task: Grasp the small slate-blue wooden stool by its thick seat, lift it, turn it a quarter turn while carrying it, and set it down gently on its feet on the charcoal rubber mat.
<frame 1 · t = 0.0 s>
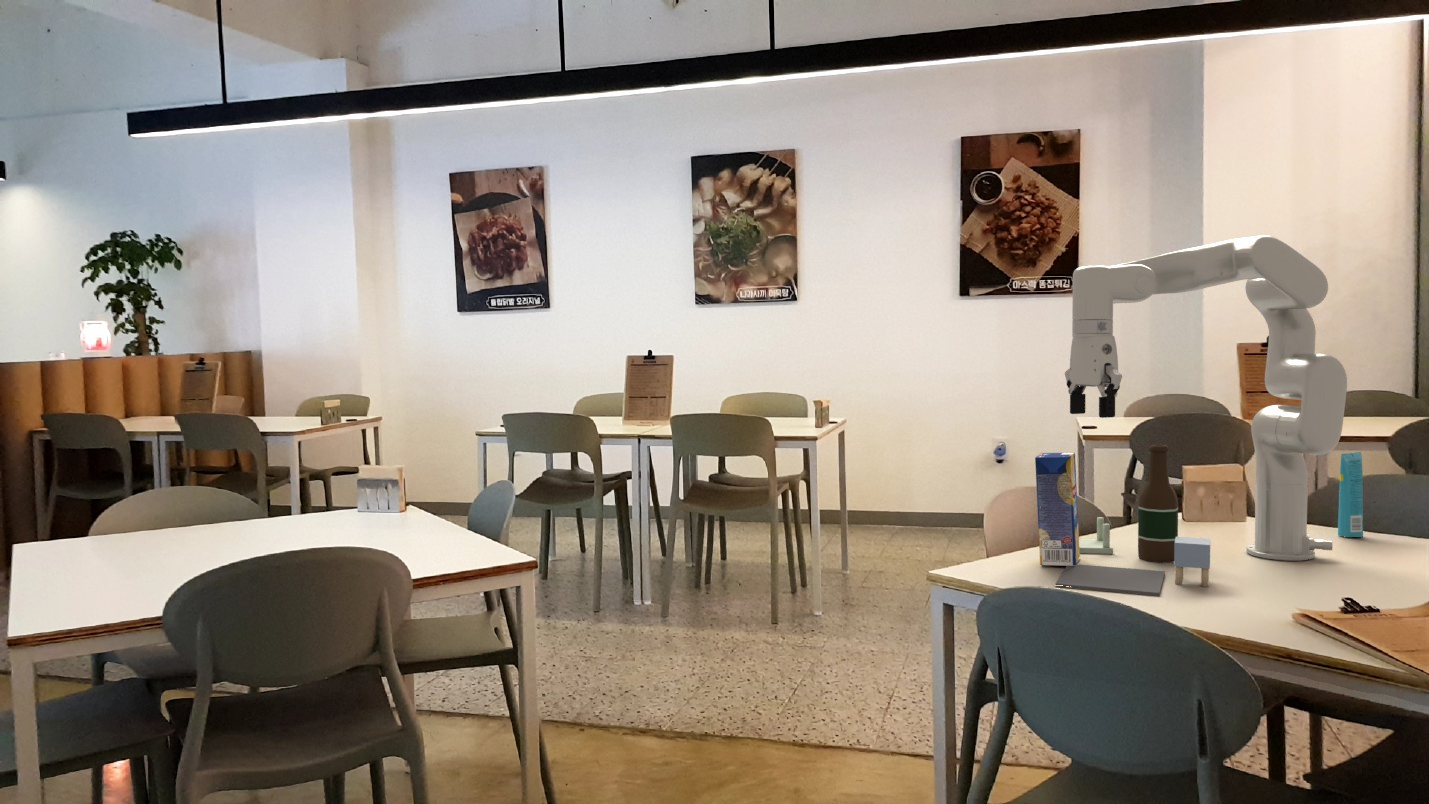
hand: (1092, 415, 201), 31 cm above the table, tool pointing down, fingers open, 9 cm apart
slate-blue stool: (1192, 582, 192), on the table
teal carton: (1349, 537, 231), on the table
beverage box: (1060, 561, 210), on the table, touching charcoal mat
beer bottle: (1157, 559, 212), on the table
mint twin-peg base: (1084, 548, 223), on the table
charcoal mat: (1111, 580, 195), on the table
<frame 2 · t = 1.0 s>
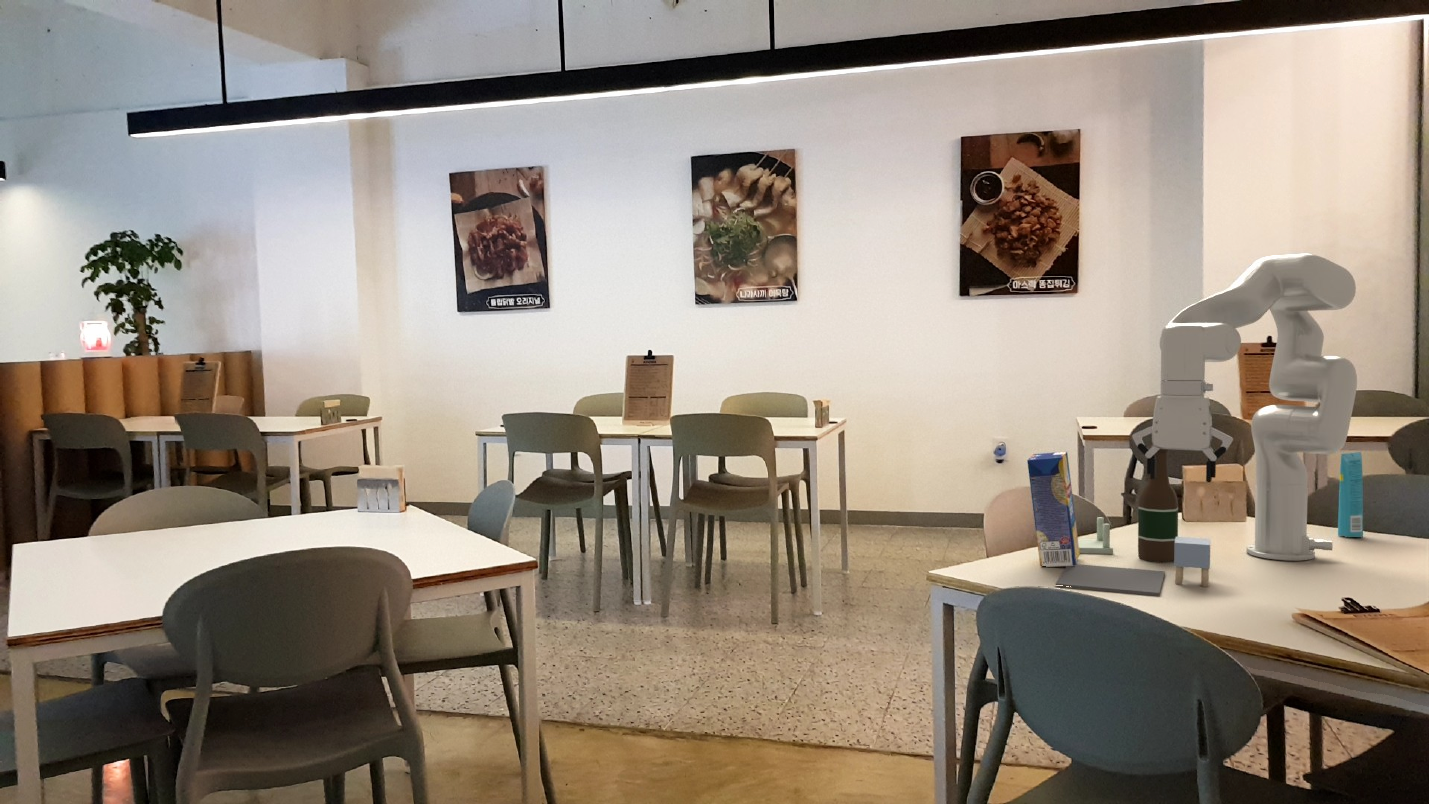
hand: (1180, 479, 192), 19 cm above the table, tool pointing down, fingers open, 9 cm apart
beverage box: (1060, 561, 210), on the table, touching charcoal mat
everything else where it was.
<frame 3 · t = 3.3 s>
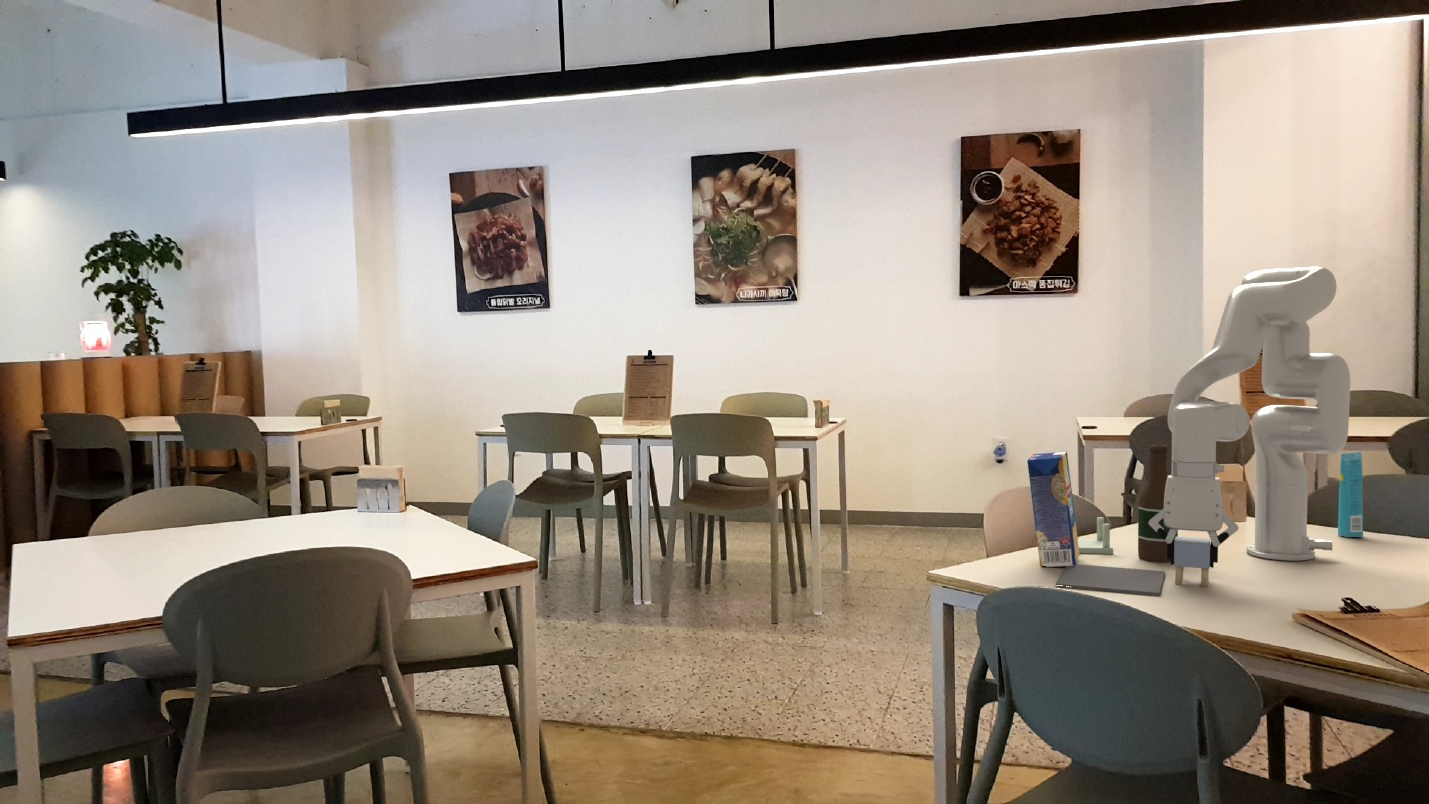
hand: (1192, 563, 192), 4 cm above the table, tool pointing down, fingers closed on slate-blue stool, 6 cm apart
slate-blue stool: (1191, 582, 192), on the table, touching gripper
everything else where it was.
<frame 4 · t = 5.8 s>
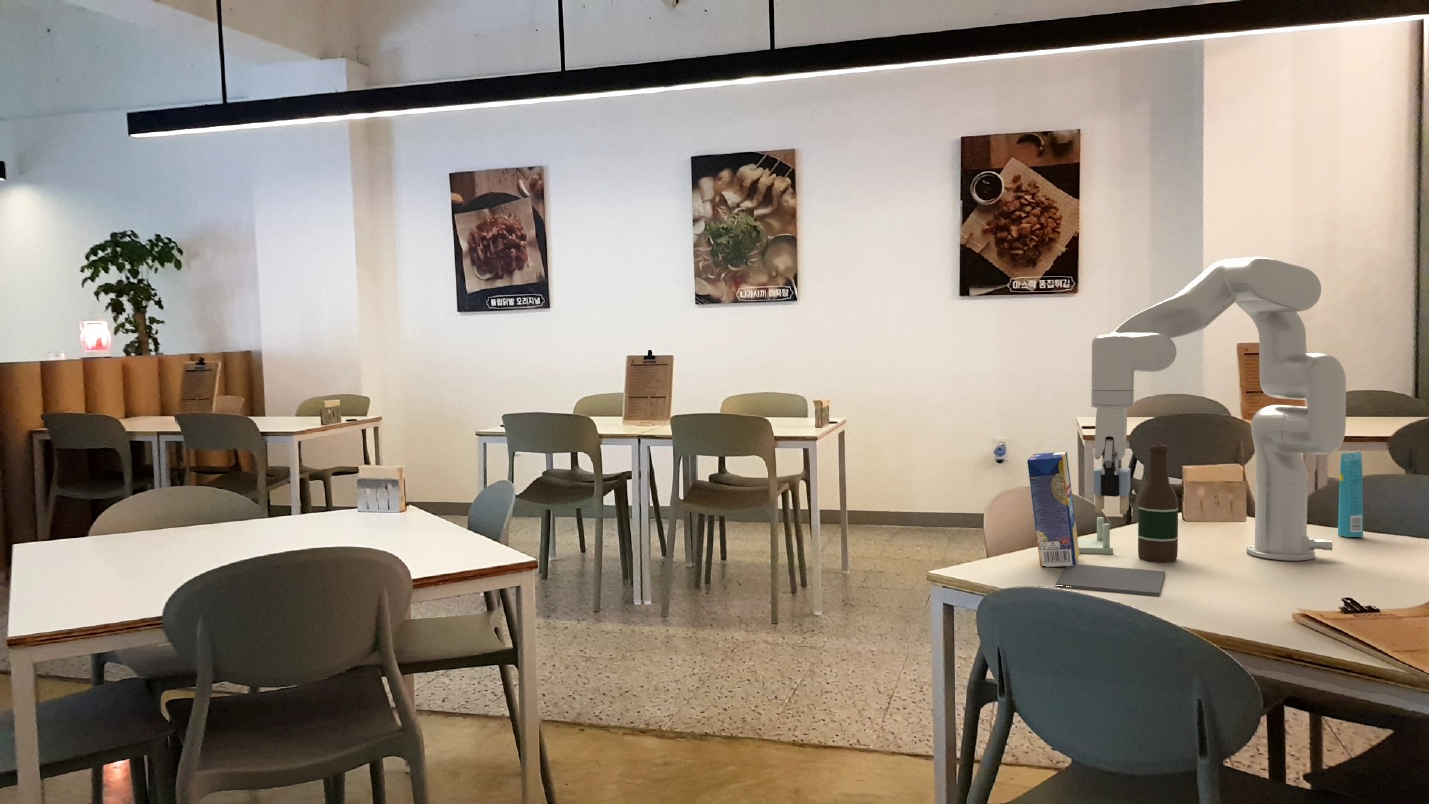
hand: (1111, 492, 194), 17 cm above the table, tool pointing down, fingers closed on slate-blue stool, 6 cm apart
slate-blue stool: (1111, 511, 194), point 13 cm above the table, touching gripper
everything else where it was.
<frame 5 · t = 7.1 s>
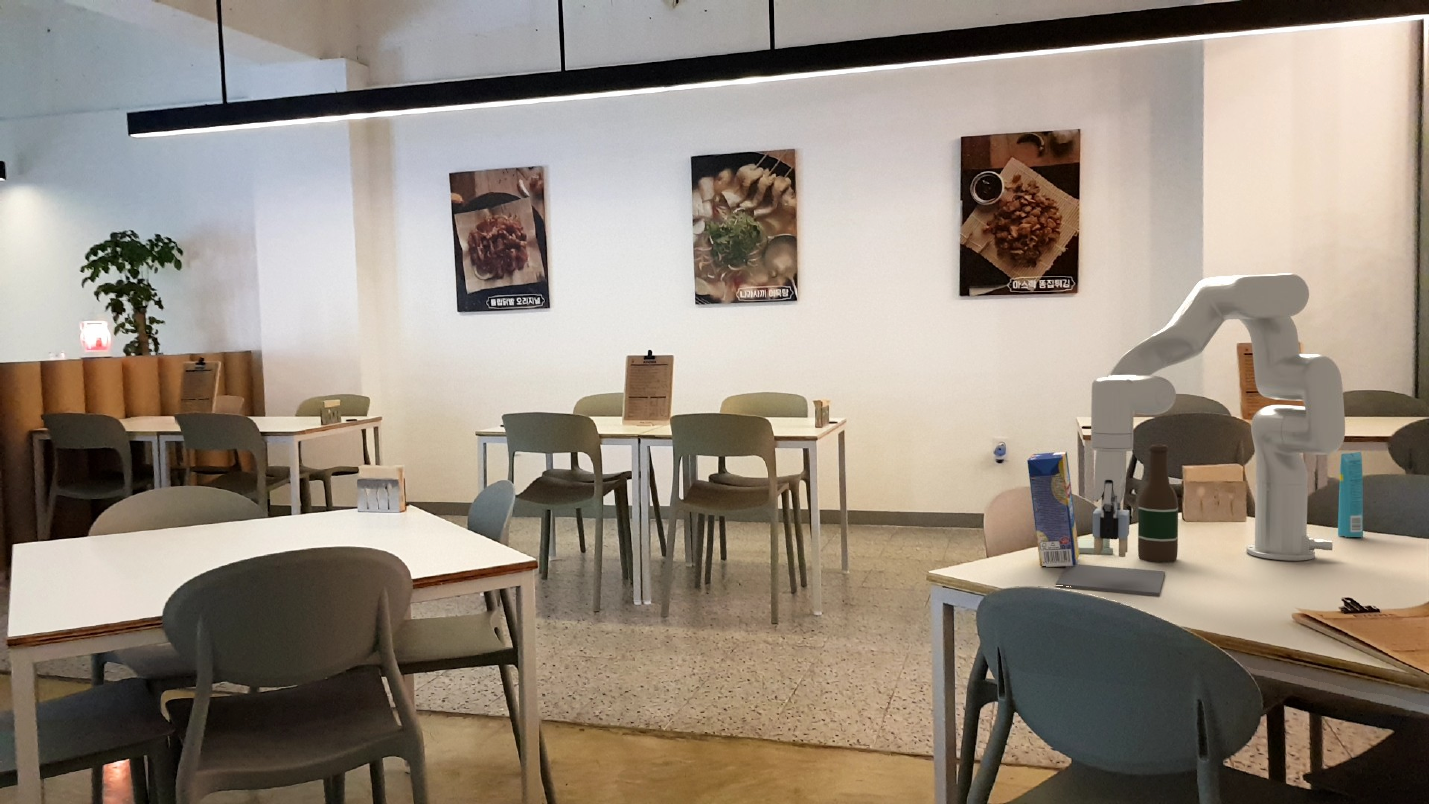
hand: (1110, 534, 194), 9 cm above the table, tool pointing down, fingers closed on slate-blue stool, 6 cm apart
slate-blue stool: (1110, 553, 194), point 5 cm above the table, touching gripper
everything else where it was.
when the fingers open (5 cm above the table, at t = 8.3 s): slate-blue stool drops 1 cm, resting on charcoal mat.
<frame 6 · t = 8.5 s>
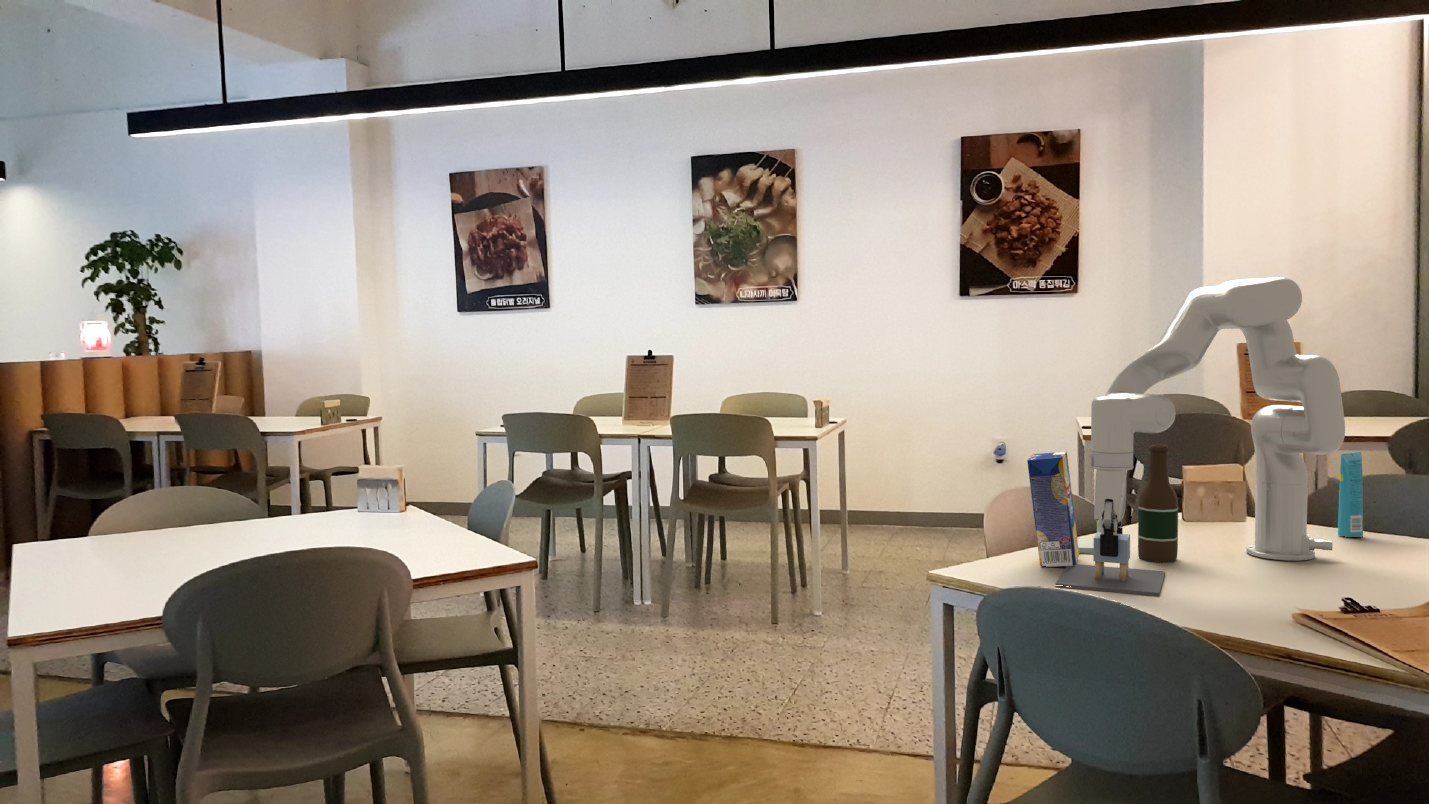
hand: (1111, 551, 195), 6 cm above the table, tool pointing down, fingers open, 7 cm apart
slate-blue stool: (1111, 577, 195), point 1 cm above the table, touching charcoal mat
everything else where it was.
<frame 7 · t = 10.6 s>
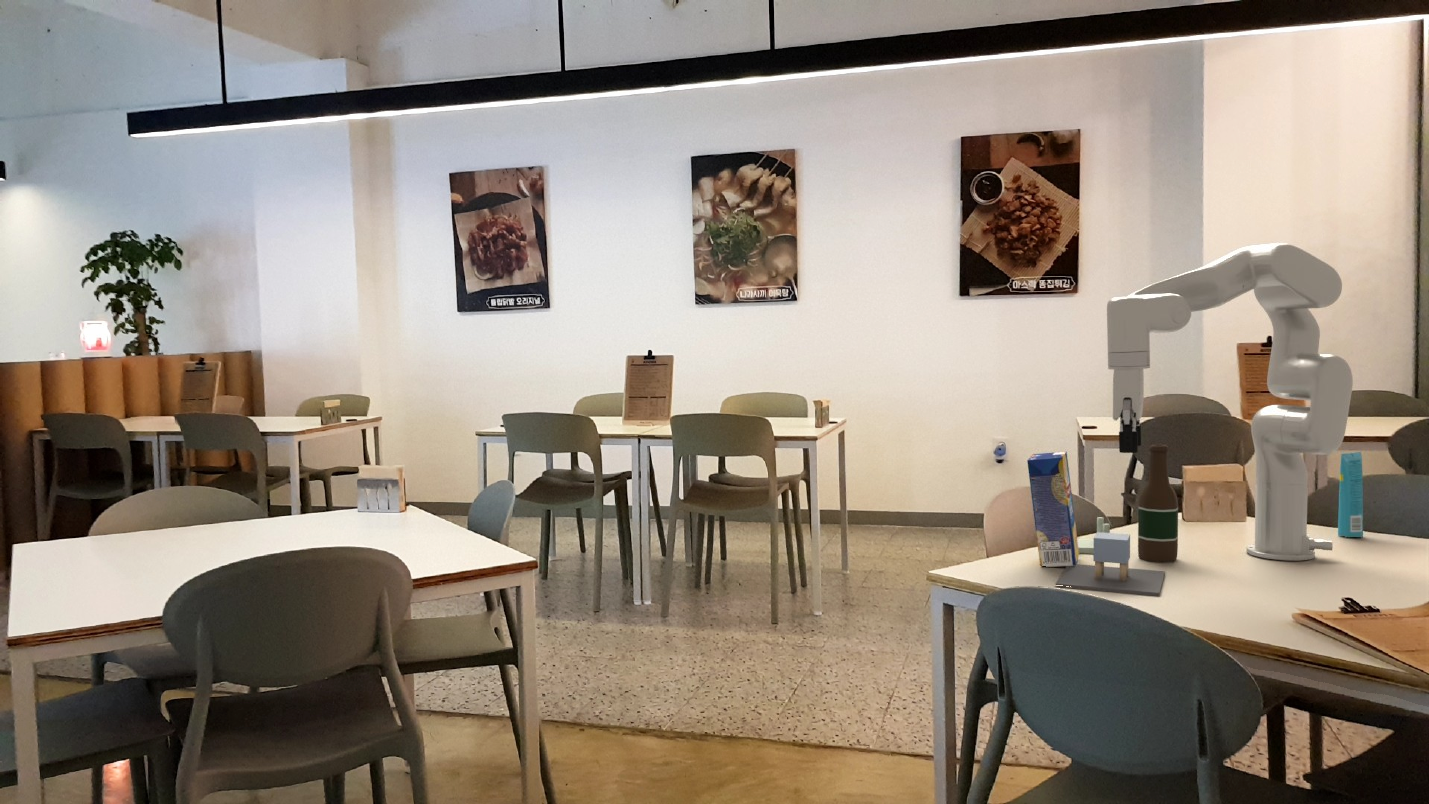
hand: (1130, 449, 196), 25 cm above the table, tool pointing down, fingers open, 9 cm apart
nothing on the table moved.
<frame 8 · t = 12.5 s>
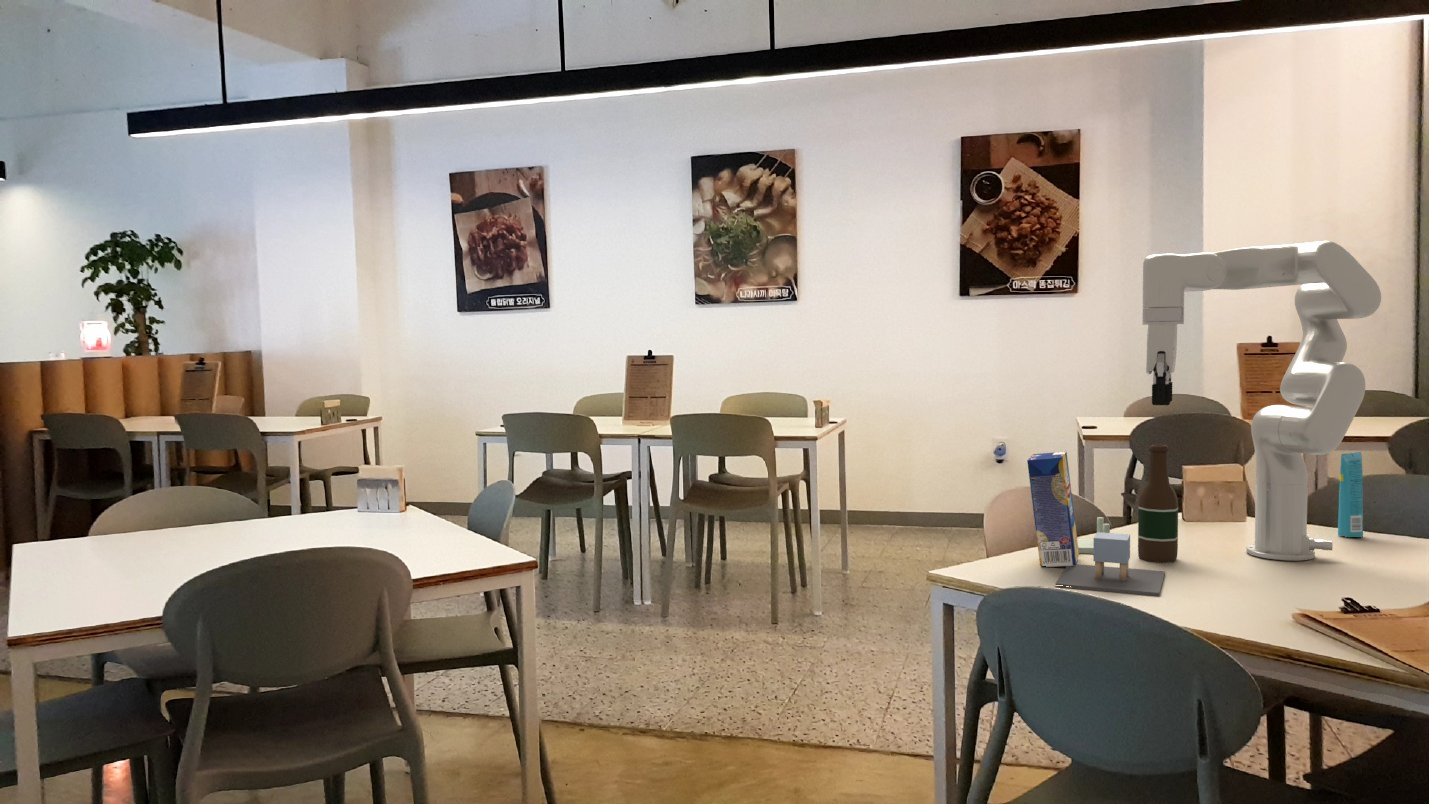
hand: (1162, 403, 202), 33 cm above the table, tool pointing down, fingers open, 9 cm apart
nothing on the table moved.
at the end: slate-blue stool inside the target area on the charcoal mat (0.1 cm from its centre), point 0.6 cm above the charcoal mat's base; slate-blue stool tilted 0°; the gripper is holding nothing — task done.
